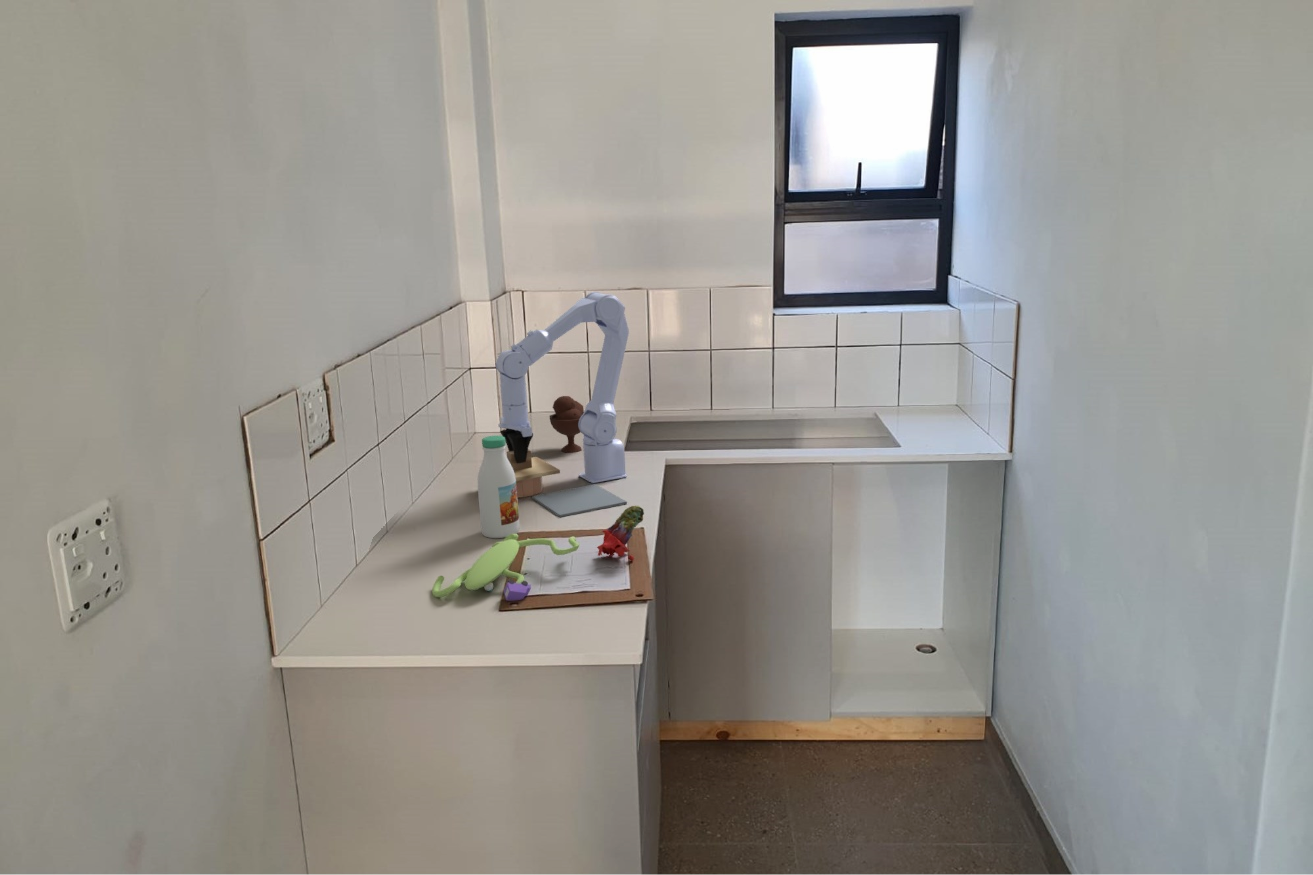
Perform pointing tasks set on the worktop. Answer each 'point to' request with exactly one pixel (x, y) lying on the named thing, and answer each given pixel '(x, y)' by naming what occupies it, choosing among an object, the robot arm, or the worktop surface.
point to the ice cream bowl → (567, 420)
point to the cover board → (530, 467)
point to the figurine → (500, 568)
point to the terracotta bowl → (529, 487)
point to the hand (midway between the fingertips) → (518, 460)
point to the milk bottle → (497, 491)
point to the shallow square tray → (578, 500)
